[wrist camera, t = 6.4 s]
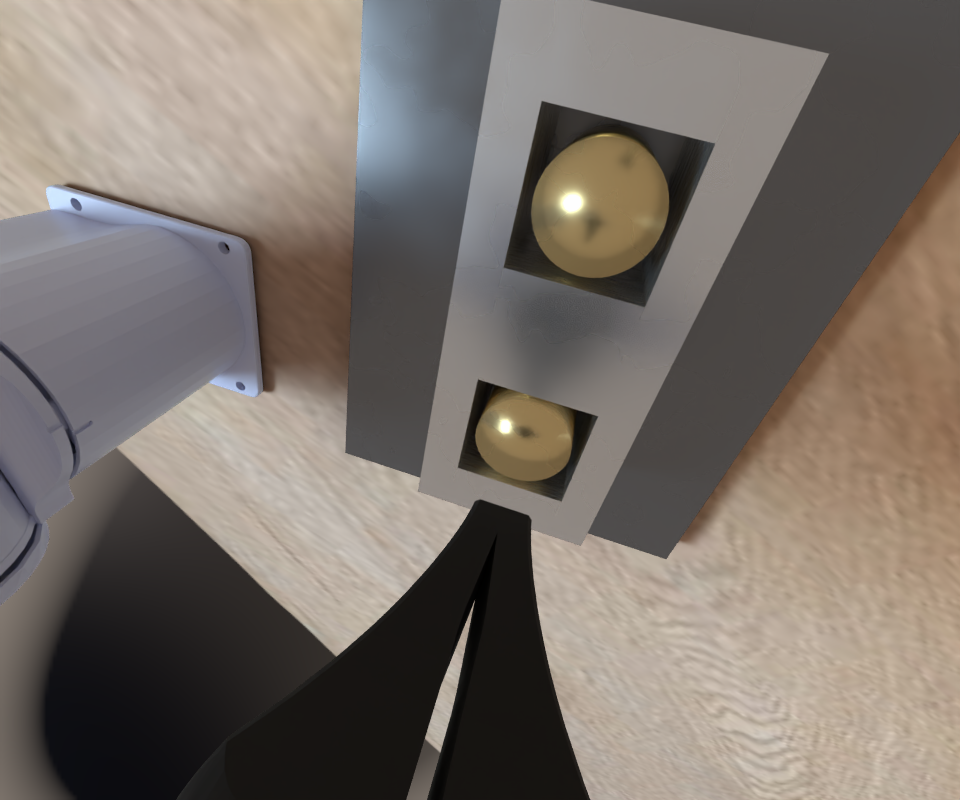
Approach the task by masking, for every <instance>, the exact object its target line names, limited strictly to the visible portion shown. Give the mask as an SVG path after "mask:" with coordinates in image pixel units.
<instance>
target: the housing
mask: <svg viewBox="0 0 960 800" xmlns="http://www.w3.org/2000/svg"><path fill="white" fill-rule="evenodd" d="M828 55H829V54H828V53H824V52H819V51H815V50H810V49H806V48H801V47H797V46H792V45H788V44H783V43H779V42H774V41H770V40H765V39H761V38H756V37H752V36H747V35H743V34H738V33H734V32H729V31H725V30H720V29H716V28H711V27H707V26H702V25H698V24H694V23H689V22H685V21H680V20H676V19H671V18H667V17H662V16H658V15H653V14H649V13H644V12H640V11H635V10H631V9H626V8H622V7H617V6H613V5H608V4H604V3H599V2H595V1H590V0H501V4H500V10H499V16H498V22H497V28H496V33H495V39H494V45H493V51H492V57H491V63H490V69H489V75H488V81H487V87H486V93H485V98H484V104H483V110H482V116H481V122H480V128H479V134H478V140H477V146H476V152H475V158H474V163H473V169H472V175H471V181H470V187H469V193H468V199H467V205H466V211H465V217H464V223H463V229H462V234H461V240H460V246H459V252H458V258H457V264H456V270H455V276H454V282H453V288H452V294H451V299H450V305H449V311H448V317H447V323H446V329H445V335H444V341H443V347H442V353H441V359H440V364H439V370H438V376H437V382H436V388H435V394H434V400H433V406H432V412H431V418H430V424H429V429H428V435H427V441H426V447H425V453H424V459H423V465H422V471H421V477H420V483H419V489H418V492H421V493H424V494H427V495H430V496H433V497H436V498H439V499H442V500H445V501H448V502H451V503H454V504H457V505H460V506H463V507H466V508H469V509H471V508H472V506H473V504H474V502H475V501H476V500H479V499H481V500H484V501H487V502H490V503H493V504H496V505H499V506H502V507H505V508H508V509H511V510H515V511H518V512H521V513H524V514H527V515H529V516H530V518H531V520H532V523H531V529H532V530H535V531H538V532H541V533H544V534H547V535H550V536H553V537H556V538H559V539H562V540H565V541H568V542H571V543H574V544H577V545H580V546H581V545H582V543H583V541H584V539H585V537H586V535H587V533H588V531H589V529H590V527H591V525H592V523H593V521H594V519H595V517H596V515H597V513H598V511H599V509H600V507H601V505H602V503H603V501H604V499H605V497H606V495H607V493H608V491H609V489H610V487H611V485H612V483H613V481H614V479H615V477H616V475H617V473H618V471H619V469H620V468H621V466H622V464H623V462H624V460H625V458H626V456H627V454H628V452H629V450H630V448H631V446H632V444H633V442H634V440H635V438H636V436H637V434H638V432H639V430H640V428H641V426H642V424H643V422H644V420H645V418H646V416H647V414H648V412H649V410H650V408H651V406H652V404H653V402H654V400H655V398H656V396H657V394H658V392H659V390H660V388H661V386H662V384H663V382H664V380H665V378H666V376H667V374H668V372H669V370H670V368H671V366H672V364H673V362H674V360H675V358H676V356H677V354H678V353H679V351H680V349H681V347H682V345H683V343H684V341H685V339H686V337H687V335H688V333H689V331H690V329H691V327H692V325H693V323H694V321H695V319H696V317H697V315H698V313H699V311H700V309H701V307H702V305H703V303H704V301H705V299H706V297H707V295H708V293H709V291H710V289H711V287H712V285H713V283H714V281H715V279H716V277H717V275H718V273H719V271H720V269H721V267H722V265H723V263H724V261H725V259H726V257H727V255H728V253H729V251H730V249H731V247H732V245H733V243H734V241H735V239H736V237H737V236H738V234H739V232H740V230H741V228H742V226H743V224H744V222H745V220H746V218H747V216H748V214H749V212H750V210H751V208H752V206H753V204H754V202H755V200H756V198H757V196H758V194H759V192H760V190H761V188H762V186H763V184H764V182H765V180H766V178H767V176H768V174H769V172H770V170H771V168H772V166H773V164H774V162H775V160H776V158H777V156H778V154H779V152H780V150H781V148H782V146H783V144H784V142H785V140H786V138H787V136H788V134H789V132H790V130H791V128H792V126H793V124H794V122H795V120H796V119H797V117H798V115H799V113H800V111H801V109H802V107H803V105H804V103H805V101H806V99H807V97H808V95H809V93H810V91H811V89H812V87H813V85H814V83H815V81H816V79H817V77H818V75H819V73H820V71H821V69H822V67H823V65H824V63H825V61H826V59H827V57H828ZM562 106H564V107H569V108H573V109H577V110H581V111H585V112H589V113H593V114H597V115H601V116H605V117H609V118H613V119H617V120H621V121H626V122H630V123H634V124H638V125H642V126H646V127H650V128H654V129H658V130H662V131H666V132H670V133H674V134H678V135H683V136H687V138H686V140H685V143H684V145H683V148H682V150H681V153H680V155H679V158H678V160H677V163H676V165H675V168H674V170H673V173H672V176H671V178H670V181H669V183H668V186H667V187H668V192H669V211H668V216H667V221H666V224H665V227H664V230H663V232H662V234H661V236H660V238H659V240H658V241H657V243H656V244H655V246H654V247H653V249H652V250H651V251H650V252H649V253H648V254H647V255H646V256H645V257H644V258H643V259H642V260H641V261H640V262H638V263H637V264H636V265H634V266H633V267H631V268H629V269H628V270H626V271H623V272H621V273H619V274H616V275H612V276H608V277H602V278H587V277H581V276H577V275H574V274H571V273H568V272H567V271H565V270H563V269H561V268H560V267H558V266H557V265H555V264H554V263H553V262H552V261H551V260H550V259H549V258H548V257H547V256H546V255H545V253H544V252H543V250H542V249H541V247H540V246H539V244H538V242H537V239H536V237H535V234H534V231H533V226H532V216H531V210H532V201H533V195H534V192H535V189H536V186H537V184H538V181H539V179H540V177H541V176H542V174H543V172H544V171H545V169H546V167H547V163H548V159H549V155H550V151H551V148H552V144H553V140H554V136H555V132H556V128H557V124H558V120H559V116H560V112H561V108H562ZM492 384H495V385H498V386H501V387H504V388H508V389H511V390H514V391H517V392H521V393H524V394H527V395H530V396H534V397H537V398H540V399H544V400H547V401H550V402H553V403H557V404H560V405H563V406H566V407H570V408H573V409H576V410H579V411H578V413H577V416H576V421H575V428H574V435H573V442H572V449H571V455H570V458H569V460H568V462H567V464H566V465H565V467H564V468H563V469H562V470H561V471H560V472H558V473H557V474H555V475H553V476H552V477H549V478H546V479H543V480H537V481H522V480H517V479H513V478H510V477H507V476H505V475H503V474H501V473H499V472H497V471H496V470H494V469H493V468H492V467H491V466H490V465H489V464H487V463H486V461H485V460H484V459H483V458H482V456H481V454H480V453H479V450H478V448H477V445H476V439H475V434H476V428H477V425H478V423H479V421H480V418H481V416H482V414H483V412H484V409H485V407H486V405H487V402H488V400H489V394H490V390H491V386H492Z"/></svg>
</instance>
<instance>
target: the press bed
mask: <svg viewBox="0 0 960 800" xmlns="http://www.w3.org/2000/svg"><path fill="white" fill-rule="evenodd" d="M590 1H595V2H599V3H604V4H608V5H613V6H617V7H622V8H626V9H631V10H635V11H640V12H644V13H649V14H653V15H658V16H662V17H667V18H671V19H676V20H680V21H685V22H689V23H694V24H698V25H702V26H707V27H711V28H716V29H720V30H725V31H729V32H734V33H738V34H743V35H747V36H752V37H756V38H761V39H765V40H770V41H774V42H779V43H783V44H788V45H792V46H797V47H801V48H806V49H810V50H815V51H819V52H824V53H828V54H829V55H828V57H827V59H826V61H825V63H824V65H823V67H822V69H821V71H820V73H819V75H818V77H817V79H816V81H815V83H814V85H813V87H812V89H811V91H810V93H809V95H808V97H807V99H806V101H805V103H804V105H803V107H802V109H801V111H800V113H799V115H798V117H797V119H796V120H795V122H794V124H793V126H792V128H791V130H790V132H789V134H788V136H787V138H786V140H785V142H784V144H783V146H782V148H781V150H780V152H779V154H778V156H777V158H776V160H775V162H774V164H773V166H772V168H771V170H770V172H769V174H768V176H767V178H766V180H765V182H764V184H763V186H762V188H761V190H760V192H759V194H758V196H757V198H756V200H755V202H754V204H753V206H752V208H751V210H750V212H749V214H748V216H747V218H746V220H745V222H744V224H743V226H742V228H741V230H740V232H739V234H738V236H737V237H736V239H735V241H734V243H733V245H732V247H731V249H730V251H729V253H728V255H727V257H726V259H725V261H724V263H723V265H722V267H721V269H720V271H719V273H718V275H717V277H716V279H715V281H714V283H713V285H712V287H711V289H710V291H709V293H708V295H707V297H706V299H705V301H704V303H703V305H702V307H701V309H700V311H699V313H698V315H697V317H696V319H695V321H694V323H693V325H692V327H691V329H690V331H689V333H688V335H687V337H686V339H685V341H684V343H683V345H682V347H681V349H680V351H679V353H678V354H677V356H676V358H675V360H674V362H673V364H672V366H671V368H670V370H669V372H668V374H667V376H666V378H665V380H664V382H663V384H662V386H661V388H660V390H659V392H658V394H657V396H656V398H655V400H654V402H653V404H652V406H651V408H650V410H649V412H648V414H647V416H646V418H645V420H644V422H643V424H642V426H641V428H640V430H639V432H638V434H637V436H636V438H635V440H634V442H633V444H632V446H631V448H630V450H629V452H628V454H627V456H626V458H625V460H624V462H623V464H622V466H621V468H620V469H619V471H618V473H617V475H616V477H615V479H614V481H613V483H612V485H611V487H610V489H609V491H608V493H607V495H606V497H605V499H604V501H603V503H602V505H601V507H600V509H599V511H598V513H597V515H596V517H595V519H594V521H593V523H592V525H591V527H590V529H589V531H588V533H589V534H592V535H595V536H598V537H601V538H604V539H607V540H610V541H613V542H616V543H619V544H622V545H625V546H628V547H631V548H634V549H637V550H640V551H643V552H646V553H649V554H652V555H655V556H658V557H661V558H664V559H667V557H668V556H669V554H670V553H671V551H672V550H673V549H674V547H675V546H676V544H677V543H678V541H679V540H680V538H681V537H682V535H683V534H684V533H685V531H686V530H687V528H688V527H689V525H690V524H691V522H692V521H693V519H694V518H695V517H696V515H697V514H698V512H699V511H700V509H701V508H702V506H703V505H704V503H705V502H706V501H707V499H708V498H709V496H710V495H711V493H712V492H713V490H714V489H715V487H716V486H717V485H718V483H719V482H720V480H721V479H722V477H723V476H724V474H725V473H726V471H727V470H728V469H729V467H730V466H731V464H732V463H733V461H734V460H735V458H736V457H737V455H738V454H739V453H740V451H741V450H742V448H743V447H744V445H745V444H746V442H747V441H748V439H749V438H750V437H751V435H752V434H753V432H754V431H755V429H756V428H757V426H758V425H759V423H760V422H761V421H762V419H763V418H764V416H765V415H766V413H767V412H768V410H769V409H770V407H771V406H772V405H773V403H774V402H775V400H776V399H777V397H778V396H779V394H780V393H781V392H782V390H783V389H784V387H785V386H786V384H787V383H788V381H789V380H790V378H791V377H792V376H793V374H794V373H795V371H796V370H797V368H798V367H799V365H800V364H801V362H802V361H803V360H804V358H805V357H806V355H807V354H808V352H809V351H810V349H811V348H812V346H813V345H814V344H815V342H816V341H817V339H818V338H819V336H820V335H821V333H822V332H823V330H824V329H825V328H826V326H827V325H828V323H829V322H830V320H831V319H832V317H833V316H834V314H835V313H836V312H837V310H838V309H839V307H840V306H841V304H842V303H843V301H844V300H845V298H846V297H847V296H848V294H849V293H850V291H851V290H852V288H853V287H854V285H855V284H856V282H857V281H858V280H859V278H860V277H861V275H862V274H863V272H864V271H865V269H866V268H867V266H868V265H869V264H870V262H871V261H872V259H873V258H874V256H875V255H876V253H877V252H878V250H879V249H880V248H881V246H882V245H883V243H884V242H885V240H886V239H887V237H888V236H889V234H890V233H891V232H892V230H893V229H894V227H895V226H896V224H897V223H898V221H899V220H900V219H901V217H902V216H903V214H904V213H905V211H906V210H907V208H908V207H909V205H910V204H911V203H912V201H913V200H914V198H915V197H916V195H917V194H918V192H919V191H920V189H921V188H922V187H923V185H924V184H925V182H926V181H927V179H928V178H929V176H930V175H931V173H932V172H933V171H934V169H935V168H936V166H937V165H938V163H939V162H940V160H941V159H942V157H943V156H944V155H945V153H946V152H947V150H948V149H949V147H950V146H951V144H952V143H953V141H954V140H955V139H956V137H957V136H958V134H959V133H960V0H590ZM500 4H501V0H363V15H362V41H361V67H360V92H359V118H358V144H357V169H356V195H355V221H354V246H353V272H352V298H351V324H350V349H349V375H348V401H347V426H346V452H345V453H348V454H351V455H354V456H357V457H360V458H363V459H366V460H369V461H372V462H375V463H378V464H381V465H384V466H387V467H390V468H393V469H396V470H399V471H402V472H405V473H408V474H411V475H414V476H417V477H421V471H422V465H423V459H424V453H425V447H426V441H427V435H428V429H429V424H430V418H431V412H432V406H433V400H434V394H435V388H436V382H437V376H438V370H439V364H440V359H441V353H442V347H443V341H444V335H445V329H446V323H447V317H448V311H449V305H450V299H451V294H452V288H453V282H454V276H455V270H456V264H457V258H458V252H459V246H460V240H461V234H462V229H463V223H464V217H465V211H466V205H467V199H468V193H469V187H470V181H471V175H472V169H473V163H474V158H475V152H476V146H477V140H478V134H479V128H480V122H481V116H482V110H483V104H484V98H485V93H486V87H487V81H488V75H489V69H490V63H491V57H492V51H493V45H494V39H495V33H496V28H497V22H498V16H499V10H500ZM602 125H620V126H624V127H627V128H630V129H631V130H633V131H635V132H637V133H638V134H639V135H641V136H642V137H643V138H644V139H645V140H646V142H647V143H648V144H649V146H650V148H651V150H652V151H653V153H654V155H655V157H656V159H657V161H658V164H659V166H660V168H661V170H662V172H663V174H664V176H665V179H666V182H667V186H668V183H669V181H670V178H671V176H672V173H673V170H674V168H675V165H676V163H677V160H678V158H679V155H680V153H681V150H682V148H683V145H684V143H685V140H686V138H687V136H683V135H678V134H674V133H670V132H666V131H662V130H658V129H654V128H650V127H646V126H642V125H638V124H634V123H630V122H626V121H621V120H617V119H613V118H609V117H605V116H601V115H597V114H593V113H589V112H585V111H581V110H577V109H573V108H569V107H564V106H562V108H561V112H560V116H559V120H558V124H557V128H556V132H555V136H554V140H553V144H552V148H551V151H550V155H549V159H548V163H547V167H548V165H549V164H550V163H551V162H552V161H553V160H554V159H555V158H556V157H557V156H558V155H559V154H560V153H561V152H562V151H563V150H564V149H565V148H566V147H567V146H568V145H569V144H570V143H571V142H572V141H573V140H574V139H575V138H577V137H578V136H579V135H580V134H582V133H584V132H585V131H587V130H589V129H592V128H594V127H598V126H602ZM547 167H546V168H547ZM532 226H533V225H532ZM494 386H495V384H492V386H491V390H490V394H489V398H490V396H491V393H492V391H493V389H494ZM578 411H579V410H577V413H578ZM576 416H577V414H576Z"/></svg>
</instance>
